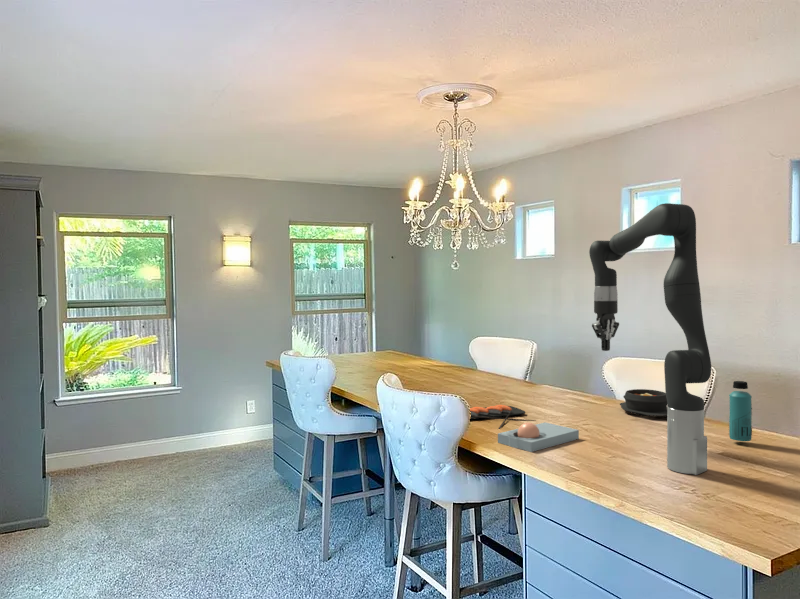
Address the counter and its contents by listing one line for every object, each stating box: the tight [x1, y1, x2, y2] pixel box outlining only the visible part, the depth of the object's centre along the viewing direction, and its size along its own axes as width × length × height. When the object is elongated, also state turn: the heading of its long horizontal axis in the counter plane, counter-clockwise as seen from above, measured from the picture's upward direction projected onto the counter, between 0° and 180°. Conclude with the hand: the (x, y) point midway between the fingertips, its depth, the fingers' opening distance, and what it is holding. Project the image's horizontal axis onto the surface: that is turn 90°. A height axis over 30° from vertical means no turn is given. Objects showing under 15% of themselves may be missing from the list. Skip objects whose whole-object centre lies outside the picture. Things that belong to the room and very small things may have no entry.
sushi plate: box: [469, 404, 537, 430], centre depth 227 cm, size 29×30×4 cm
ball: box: [517, 421, 540, 438], centre depth 191 cm, size 7×7×7 cm
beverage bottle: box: [728, 380, 753, 442], centre depth 189 cm, size 6×7×20 cm
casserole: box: [619, 388, 667, 417], centre depth 234 cm, size 25×19×8 cm
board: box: [497, 421, 580, 453], centre depth 195 cm, size 14×24×3 cm, turn 127°
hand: (605, 350), depth 200 cm, fingers closed
